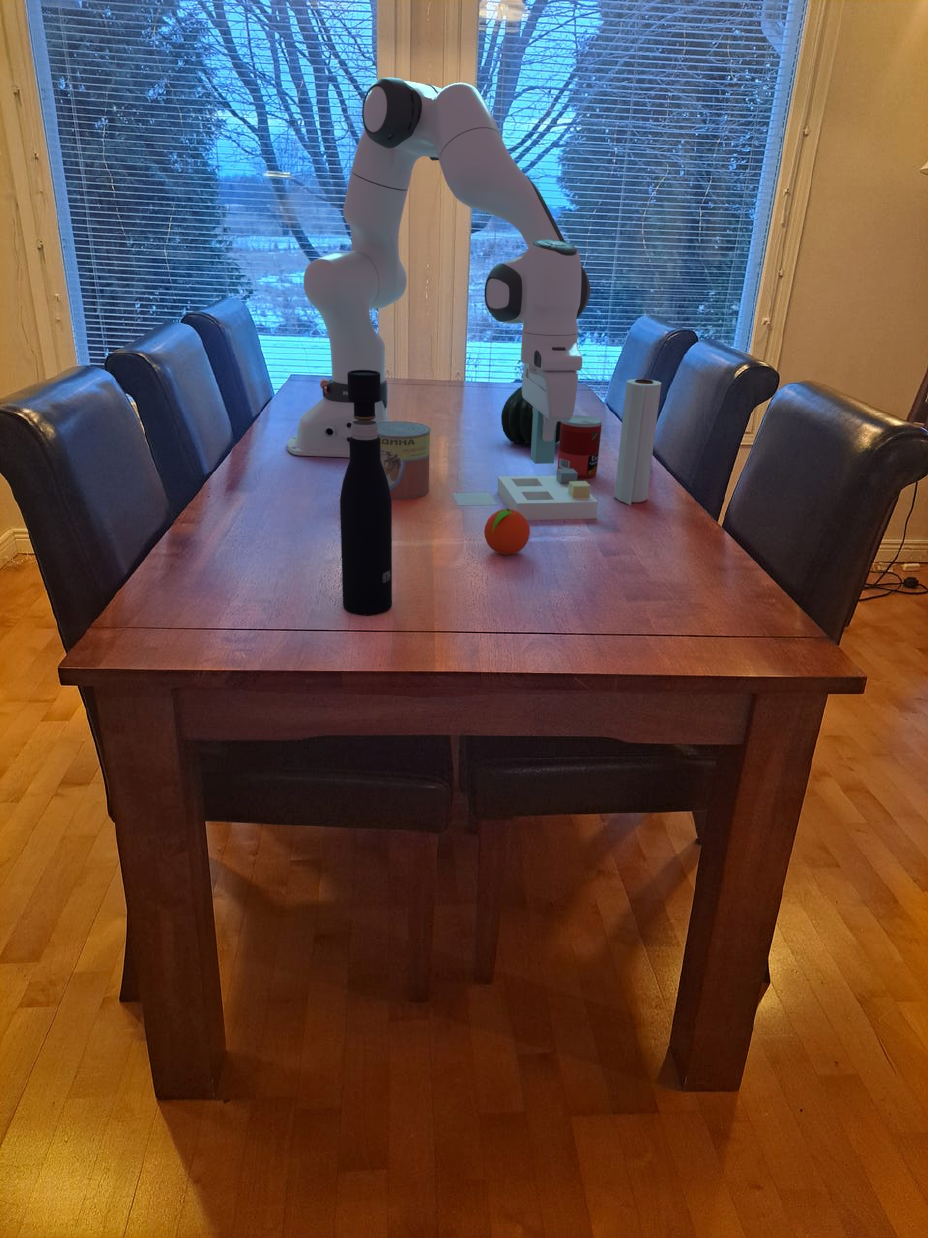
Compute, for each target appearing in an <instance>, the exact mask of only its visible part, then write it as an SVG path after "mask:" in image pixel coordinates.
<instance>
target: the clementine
mask: <svg viewBox="0 0 928 1238" xmlns="http://www.w3.org/2000/svg"><path fill="white" fill-rule="evenodd" d="M530 531H531V528H530V526H529V523H528V520H526V519H525V517H524V516H523V515H522V514H520V513H519V512H517V511H515V510H511V509H508V508H503V509H500V510H498V511H495V512H494V513H493V514H491V515H490V517H489V518H488V519H487V521H486V523H485V526H484V531H483V532H484V539H485V542H486V544H487V545H488V546H489V548H490V549H491V550H492V551H493V552H495V553H497V554H498V555H505V556H506V555H507V556H508V555H515V554H516V553H518V552H520V551H521V550H523V549H524V547H525V546H527V544H528V543H529V539H530V535H531V532H530Z"/></svg>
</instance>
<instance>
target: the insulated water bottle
mask: <svg viewBox="0 0 928 1238" xmlns="http://www.w3.org/2000/svg"><path fill="white" fill-rule="evenodd" d="M347 382H348V401H350V402H354V415H353V417H354V418H355V419H357V420H355V421H353V422H352V425H351V428H352V431H351V434H352V436H351V437H350V438H349V448H350V457H349V462H348V464H347V467H346V470H345V474H344V476H343V481H342V485H341V492H340V499H339V510H340V513H339V514H340V549H341V578H342V579H341V582H342V583H341V585H342V606H343V609H345V611H347V612H349V613H351V614H353V615H354V614H355V615H358V616H376V615H380V614H384V613H385V612H387V611H389V610H391V609H392V607H393V559H392V557H393V551H392V550H393V547H392V546H393V538H392V537H393V533H392V532H393V530H392V529H393V527H392V526H393V521H392V520H393V519H392V517H393V515H392V514H393V513H392V509H393V508H392V506H393V505H392V504H393V503H392V501H393V500H391V494H390V489H389V484H388V480H387V477H386V474H385V471H384V468H383V465H382V462H381V440H380V438H379V437H378V436H377V435H378V433H379V432H378V431H377V429H378V428H379V427H378V425H377V422H376V421H373V420H372V419H374V418H375V417H376V415H375V403H376V402H379V401H380V400H381V397H380V396H381V384H380V373H379V372H377V371H373V370H353V371H349V372H348V373H347Z"/></svg>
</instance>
